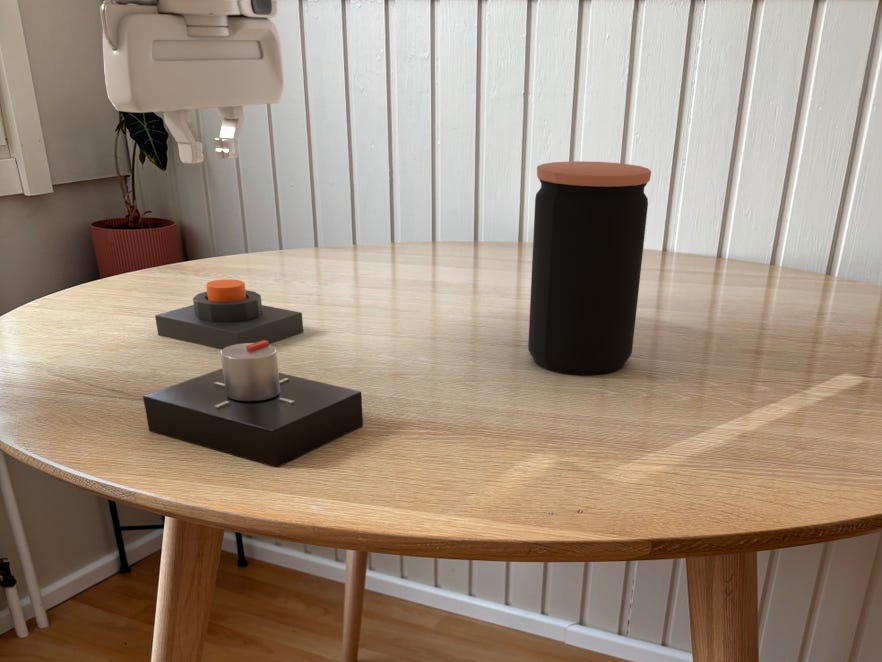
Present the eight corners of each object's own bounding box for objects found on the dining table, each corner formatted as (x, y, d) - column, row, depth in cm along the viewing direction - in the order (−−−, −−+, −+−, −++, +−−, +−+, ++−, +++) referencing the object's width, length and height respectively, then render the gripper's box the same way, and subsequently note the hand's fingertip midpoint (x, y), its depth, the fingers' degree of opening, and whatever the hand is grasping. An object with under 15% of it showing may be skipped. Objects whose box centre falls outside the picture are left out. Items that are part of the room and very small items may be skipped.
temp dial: (255, 405, 75) (249, 357, 73) (214, 395, 77) (208, 348, 75) (291, 390, 78) (287, 344, 76) (251, 381, 80) (246, 336, 78)
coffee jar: (651, 363, 97) (674, 169, 87) (584, 384, 91) (601, 178, 81) (573, 341, 103) (586, 158, 94) (505, 359, 97) (512, 166, 87)
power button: (200, 301, 100) (198, 284, 99) (227, 294, 103) (224, 277, 102) (228, 306, 99) (225, 289, 98) (254, 299, 101) (252, 282, 101)
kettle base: (158, 335, 102) (151, 297, 100) (223, 316, 109) (219, 280, 107) (240, 354, 97) (235, 314, 95) (303, 332, 104) (300, 295, 102)
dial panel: (148, 431, 78) (141, 393, 76) (241, 395, 86) (236, 361, 84) (276, 467, 72) (272, 428, 70) (363, 425, 80) (361, 389, 78)
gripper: (123, -13, 77) (152, 173, 85) (288, -4, 92) (300, 154, 99) (72, -13, 80) (104, 167, 87) (240, -5, 95) (256, 149, 102)
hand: (210, 160), depth 94 cm, fingers open, 3 cm apart
